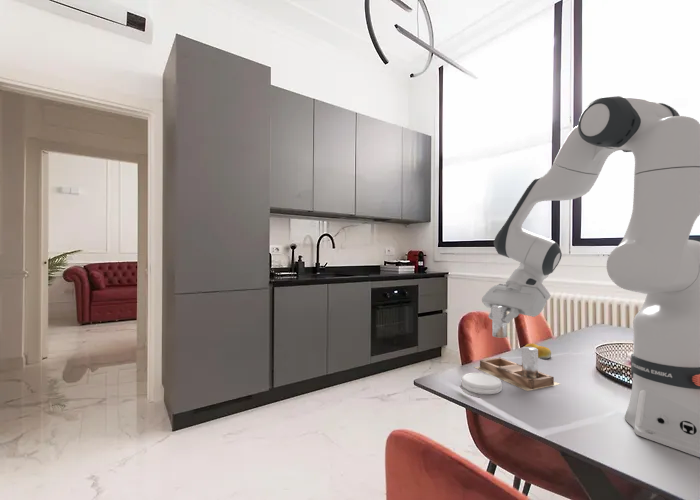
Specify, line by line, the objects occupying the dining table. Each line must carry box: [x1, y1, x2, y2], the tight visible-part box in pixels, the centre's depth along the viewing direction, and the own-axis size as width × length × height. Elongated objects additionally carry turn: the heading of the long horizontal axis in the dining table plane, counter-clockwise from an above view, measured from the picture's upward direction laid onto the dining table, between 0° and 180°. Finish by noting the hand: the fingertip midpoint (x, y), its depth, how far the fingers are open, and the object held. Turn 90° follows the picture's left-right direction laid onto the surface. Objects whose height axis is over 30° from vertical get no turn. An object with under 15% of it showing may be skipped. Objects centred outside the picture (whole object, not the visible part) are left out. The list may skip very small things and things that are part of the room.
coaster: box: [461, 372, 503, 399], centre depth 93 cm, size 10×10×4 cm
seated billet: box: [521, 346, 539, 379], centre depth 97 cm, size 4×4×9 cm
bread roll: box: [523, 342, 552, 360], centre depth 124 cm, size 8×9×4 cm
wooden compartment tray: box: [473, 356, 561, 392], centre depth 102 cm, size 20×12×3 cm, turn 21°
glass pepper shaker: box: [491, 305, 508, 339], centre depth 107 cm, size 4×4×9 cm
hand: (497, 320), depth 107 cm, fingers closed on glass pepper shaker, 4 cm apart
